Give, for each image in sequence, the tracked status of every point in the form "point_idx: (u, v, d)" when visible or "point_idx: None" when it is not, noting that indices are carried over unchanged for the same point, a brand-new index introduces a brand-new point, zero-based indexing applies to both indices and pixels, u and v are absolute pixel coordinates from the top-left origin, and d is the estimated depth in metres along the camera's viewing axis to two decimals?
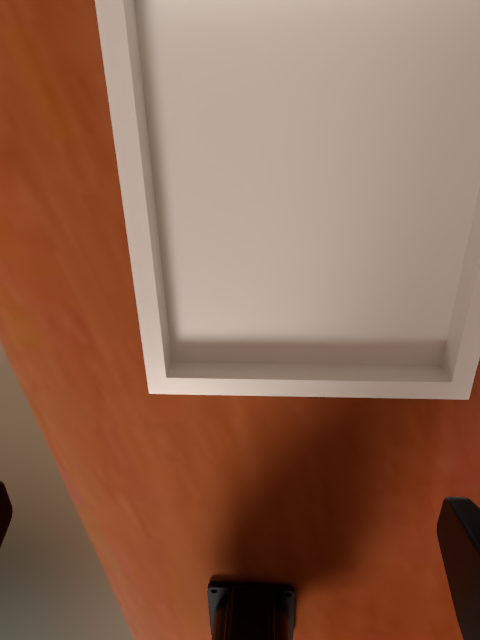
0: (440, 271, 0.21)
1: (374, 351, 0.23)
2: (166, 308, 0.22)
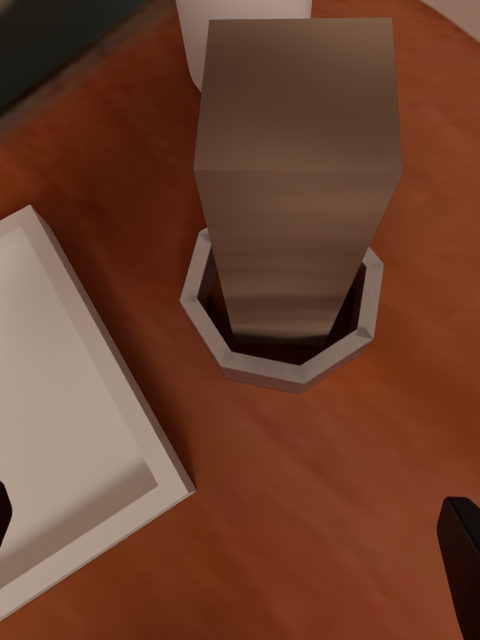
0: (101, 404, 0.23)
1: (94, 510, 0.21)
2: None
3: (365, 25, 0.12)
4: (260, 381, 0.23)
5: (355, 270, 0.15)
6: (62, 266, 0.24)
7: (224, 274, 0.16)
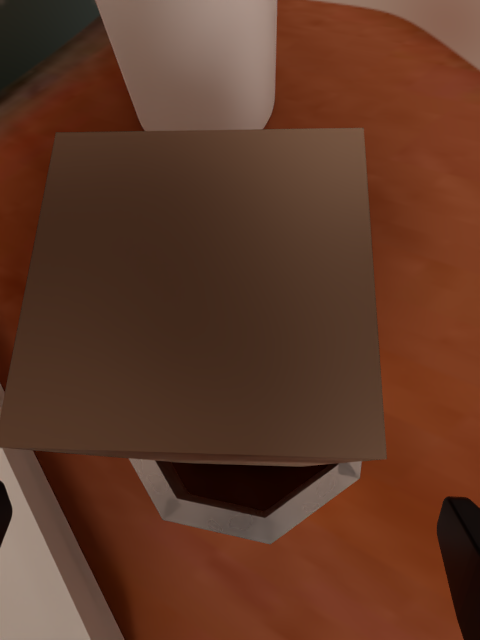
0: (16, 557, 0.18)
1: None
2: None
3: (318, 144, 0.07)
4: None
5: None
6: None
7: (138, 458, 0.11)
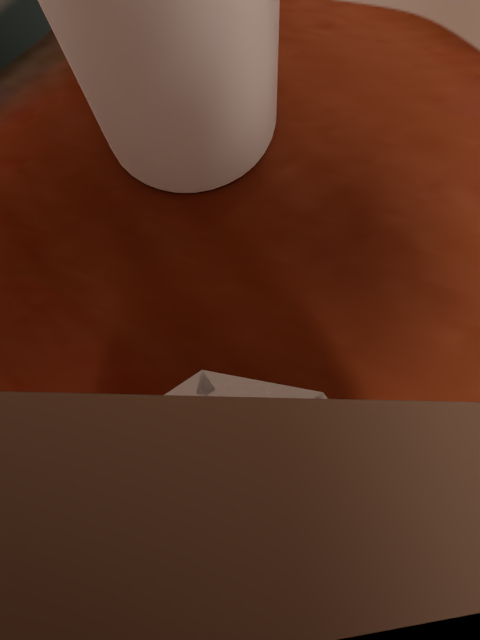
0: None
1: None
2: None
3: (407, 459, 0.02)
4: None
5: None
6: None
7: None
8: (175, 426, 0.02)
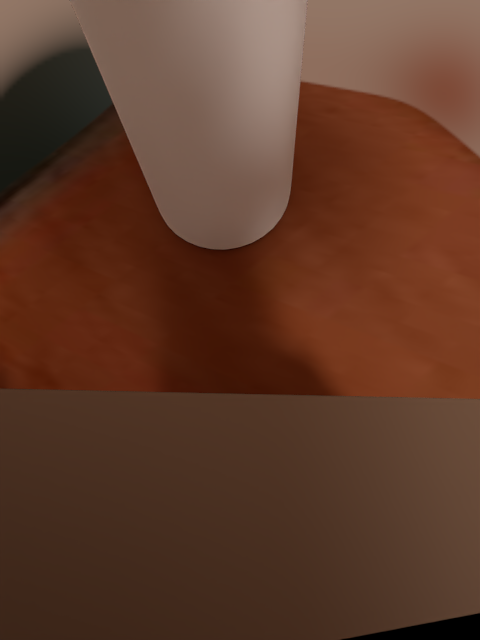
0: None
1: None
2: None
3: (410, 456, 0.02)
4: None
5: None
6: None
7: None
8: (179, 423, 0.02)
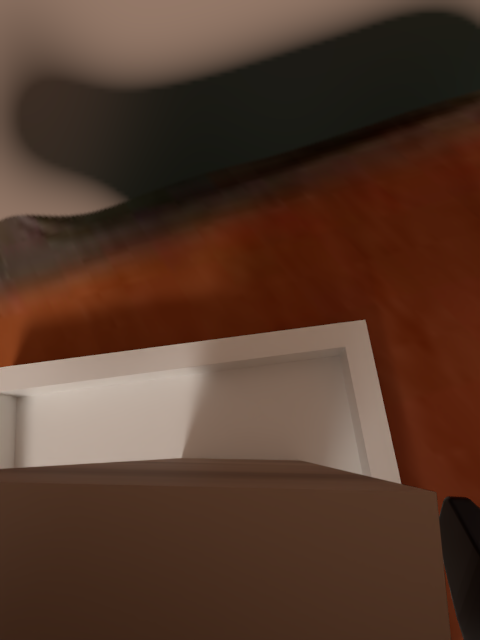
0: None
1: None
2: None
3: (346, 532, 0.03)
4: None
5: None
6: (388, 436, 0.17)
7: None
8: (192, 509, 0.03)
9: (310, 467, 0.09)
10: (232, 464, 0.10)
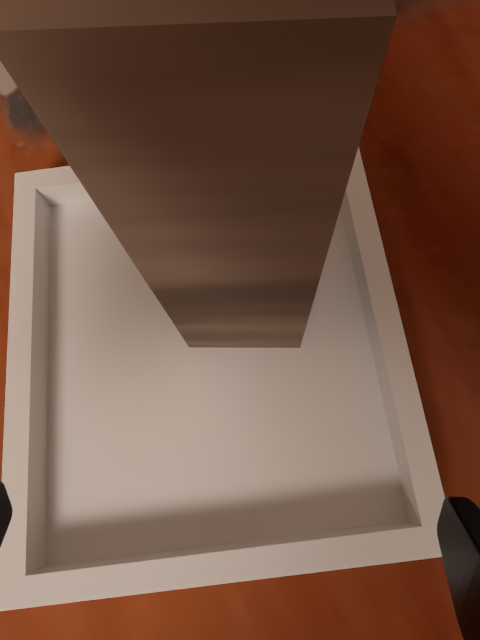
0: (357, 389, 0.19)
1: (314, 509, 0.17)
2: (46, 479, 0.18)
3: None
4: None
5: (327, 239, 0.10)
6: (372, 212, 0.19)
7: (136, 254, 0.11)
8: None
9: None
10: None
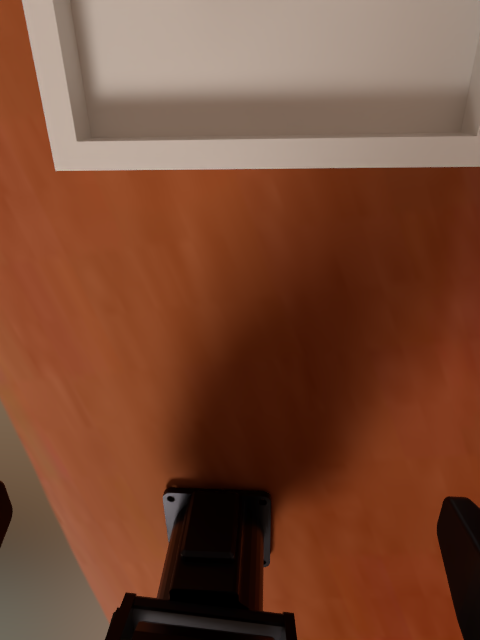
0: None
1: (368, 110, 0.16)
2: (76, 42, 0.16)
3: None
4: None
5: None
6: None
7: None
8: None
9: None
10: None
